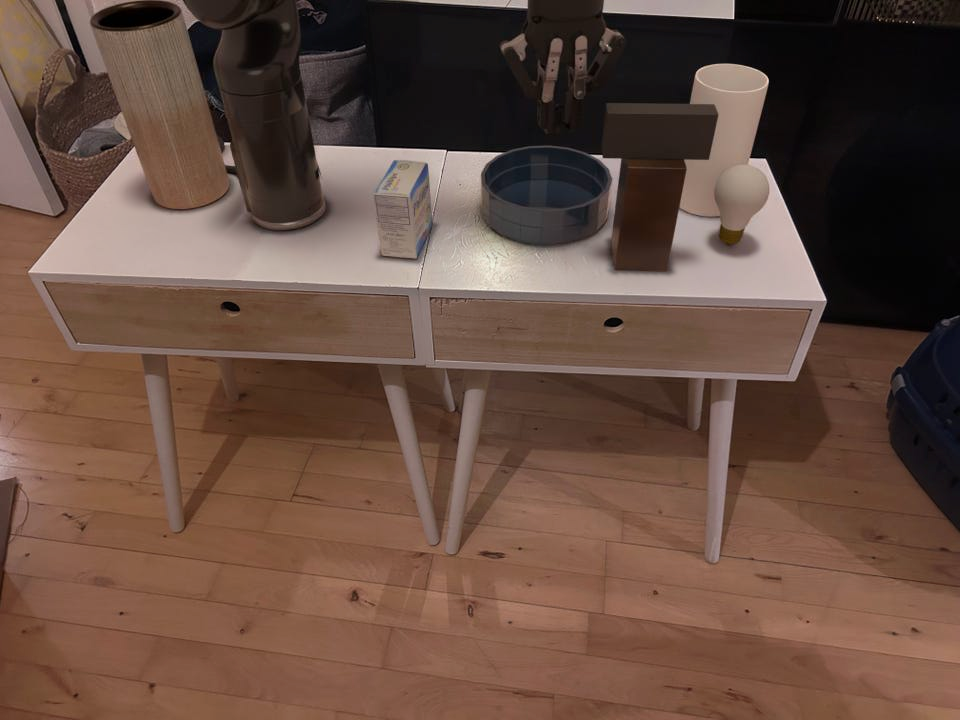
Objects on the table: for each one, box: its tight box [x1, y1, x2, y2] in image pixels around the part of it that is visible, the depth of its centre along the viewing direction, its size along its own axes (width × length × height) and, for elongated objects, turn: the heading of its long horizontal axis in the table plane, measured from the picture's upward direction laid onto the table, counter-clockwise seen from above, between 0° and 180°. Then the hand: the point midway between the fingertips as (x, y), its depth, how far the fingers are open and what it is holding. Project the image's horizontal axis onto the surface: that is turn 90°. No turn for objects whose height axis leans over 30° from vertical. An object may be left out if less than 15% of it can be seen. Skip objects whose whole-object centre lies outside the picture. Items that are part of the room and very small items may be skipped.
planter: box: [89, 0, 230, 210], centre depth 92 cm, size 10×10×23 cm
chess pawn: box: [552, 103, 568, 134], centre depth 81 cm, size 2×2×3 cm
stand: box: [610, 159, 687, 272], centre depth 83 cm, size 6×6×13 cm
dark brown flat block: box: [600, 102, 718, 160], centre depth 76 cm, size 11×2×5 cm, turn 86°
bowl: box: [480, 145, 613, 246], centre depth 93 cm, size 16×16×5 cm
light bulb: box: [714, 164, 770, 246], centre depth 85 cm, size 6×6×10 cm
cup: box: [679, 63, 770, 218], centre depth 90 cm, size 8×8×16 cm
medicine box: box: [373, 159, 434, 260], centre depth 87 cm, size 8×4×9 cm, turn 168°
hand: (558, 128), depth 82 cm, fingers closed on chess pawn, 2 cm apart
